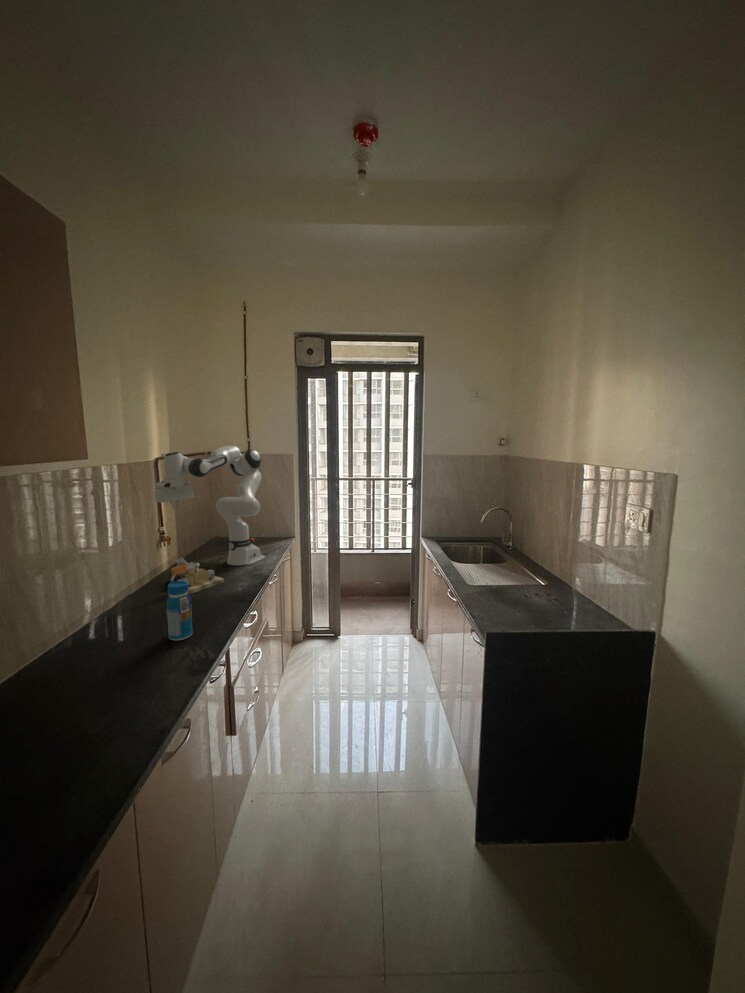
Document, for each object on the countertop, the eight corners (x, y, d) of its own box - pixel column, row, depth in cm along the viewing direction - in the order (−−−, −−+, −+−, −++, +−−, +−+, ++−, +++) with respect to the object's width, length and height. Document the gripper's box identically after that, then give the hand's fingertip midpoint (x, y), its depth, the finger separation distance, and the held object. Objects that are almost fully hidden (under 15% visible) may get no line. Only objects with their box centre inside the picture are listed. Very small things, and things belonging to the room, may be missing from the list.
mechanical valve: (203, 570, 209) (189, 555, 198) (190, 601, 197) (175, 586, 186) (185, 570, 211) (170, 555, 200) (171, 601, 199) (155, 587, 188)
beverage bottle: (165, 642, 140) (161, 589, 137) (170, 631, 148) (167, 580, 145) (191, 639, 142) (188, 586, 139) (195, 629, 150) (192, 578, 147)
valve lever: (197, 566, 194) (196, 560, 194) (200, 567, 193) (200, 561, 193) (171, 574, 183) (170, 568, 183) (174, 575, 182) (174, 569, 181)
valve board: (209, 577, 206) (208, 574, 206) (224, 582, 200) (223, 578, 200) (168, 591, 188) (168, 587, 187) (184, 596, 181) (183, 592, 181)
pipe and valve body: (209, 576, 203) (208, 561, 201) (216, 578, 200) (215, 562, 199) (176, 587, 187) (175, 570, 186) (183, 589, 185) (182, 572, 183)
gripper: (188, 481, 218) (190, 505, 220) (152, 484, 201) (153, 510, 203) (195, 481, 215) (197, 506, 217) (159, 485, 198) (160, 512, 199)
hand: (175, 508), depth 210 cm, fingers closed
